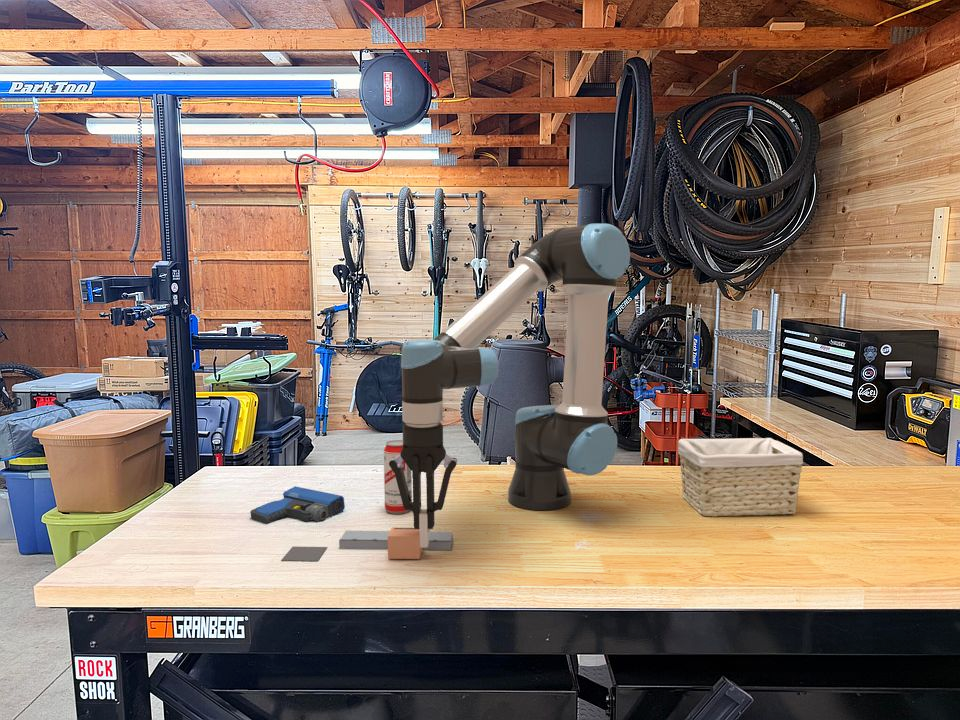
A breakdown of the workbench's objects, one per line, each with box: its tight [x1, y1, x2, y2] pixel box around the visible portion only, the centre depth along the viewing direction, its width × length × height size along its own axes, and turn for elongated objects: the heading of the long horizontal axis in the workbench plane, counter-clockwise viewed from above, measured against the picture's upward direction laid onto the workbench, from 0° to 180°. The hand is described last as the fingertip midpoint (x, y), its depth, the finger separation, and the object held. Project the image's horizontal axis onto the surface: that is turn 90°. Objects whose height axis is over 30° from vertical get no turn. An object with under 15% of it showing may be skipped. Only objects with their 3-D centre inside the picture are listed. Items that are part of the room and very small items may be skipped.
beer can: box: [383, 439, 413, 515], centre depth 146 cm, size 6×6×16 cm
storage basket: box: [677, 437, 804, 517], centre depth 148 cm, size 24×16×15 cm
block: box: [387, 526, 423, 560], centre depth 121 cm, size 6×4×4 cm
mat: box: [280, 546, 328, 562], centre depth 122 cm, size 7×6×1 cm
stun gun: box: [249, 485, 346, 525], centre depth 143 cm, size 4×16×15 cm
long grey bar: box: [338, 530, 454, 551], centre depth 127 cm, size 22×5×2 cm, turn 88°
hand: (424, 544), depth 120 cm, fingers closed
